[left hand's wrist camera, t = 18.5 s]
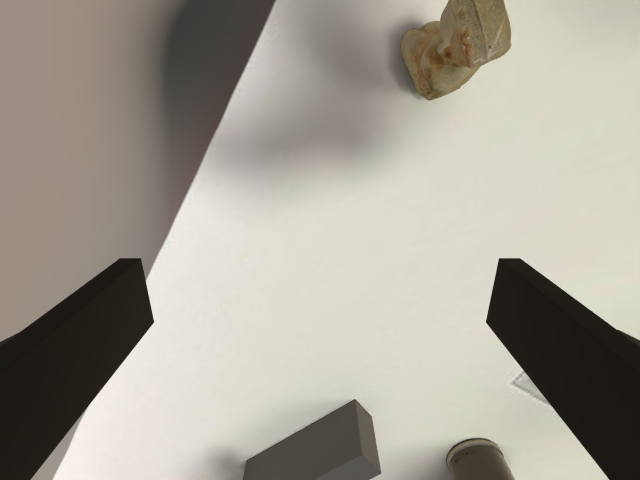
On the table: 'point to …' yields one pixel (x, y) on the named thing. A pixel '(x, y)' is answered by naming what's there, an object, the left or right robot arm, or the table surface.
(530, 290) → the left robot arm
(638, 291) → the table surface
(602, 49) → the table surface
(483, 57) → the sculpture
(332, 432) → the bar
